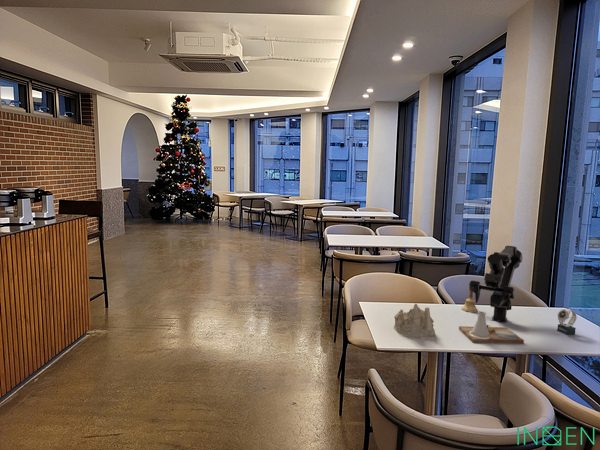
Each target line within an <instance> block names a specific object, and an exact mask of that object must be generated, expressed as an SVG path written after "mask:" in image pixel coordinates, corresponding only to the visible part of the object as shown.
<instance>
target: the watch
mask: <svg viewBox="0 0 600 450" xmlns="http://www.w3.org/2000/svg"><path fill="white" fill-rule="evenodd" d="M570 313H571V316H570ZM577 318H578V316H577V313H576V311H574V310H573V309H570V308H563V309H561V310H560V311H558V313H557V320H558V324H557V330H556V331H558V332H559V333H561V332H562V334H563V333H564V335H565V336H573V335H574V336H575V335H576V330H577V328H576V327H574V324H575V323H576V321H577ZM568 319H569V320H568ZM567 320H568V323H565V322H566V321H567Z"/></svg>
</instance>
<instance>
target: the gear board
mask: <svg viewBox="0 0 600 450" xmlns="http://www.w3.org/2000/svg"><path fill="white" fill-rule="evenodd" d="M486 325H487V328H488V331H489V335H490V336H488V337H479V336H476V335H473V334H472V333H471V331H472V329H473V327H474V326H462V325H460V326H458V330H459V331H460V332H461V333H462V334H463V335H464V336H465V337H466V338H467V339H468V340H470V342H471V343H481V344H483V343H485V344H489V343H490V344H522V345H523V344H525V343H524V342H525V340H524V339H523V338H522V337H520V336H519V335H517V334H516V333H515V332H513V331H512V330H510V329H509V328H508V327H505V326H504V327H501V326H491V325H488V324H486Z"/></svg>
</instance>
